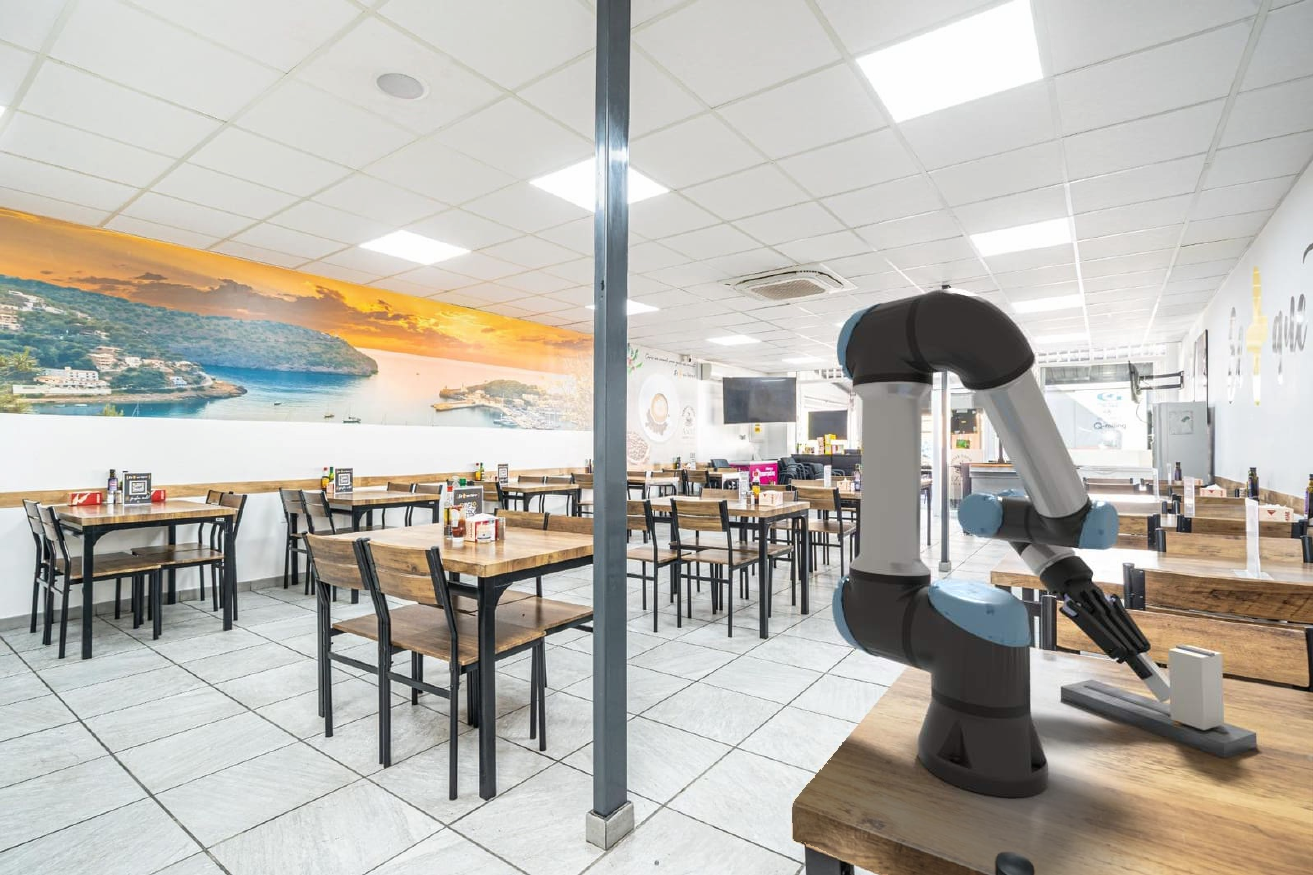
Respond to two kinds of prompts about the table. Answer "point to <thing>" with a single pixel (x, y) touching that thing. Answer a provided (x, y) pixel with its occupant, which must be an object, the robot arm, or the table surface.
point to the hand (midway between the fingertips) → (1170, 697)
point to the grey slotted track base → (1157, 718)
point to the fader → (1196, 686)
